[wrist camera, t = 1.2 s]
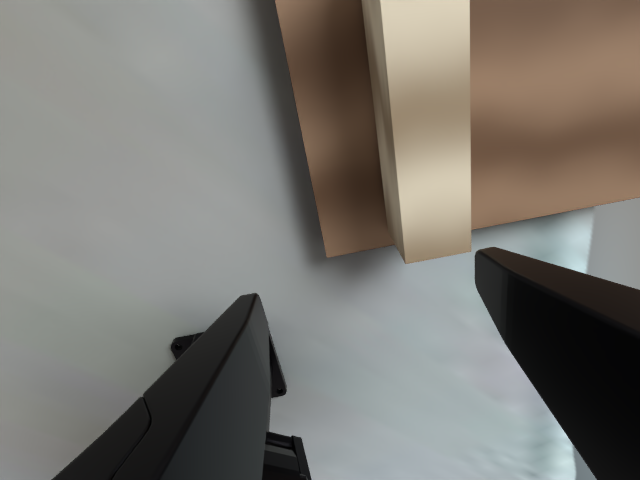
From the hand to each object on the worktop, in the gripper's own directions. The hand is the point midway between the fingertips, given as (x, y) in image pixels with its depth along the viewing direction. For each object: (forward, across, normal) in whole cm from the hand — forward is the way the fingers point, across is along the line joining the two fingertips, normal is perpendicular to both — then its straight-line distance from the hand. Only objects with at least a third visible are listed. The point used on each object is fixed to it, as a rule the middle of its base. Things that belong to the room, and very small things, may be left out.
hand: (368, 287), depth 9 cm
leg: (+11, -4, -3) cm, 12 cm away
